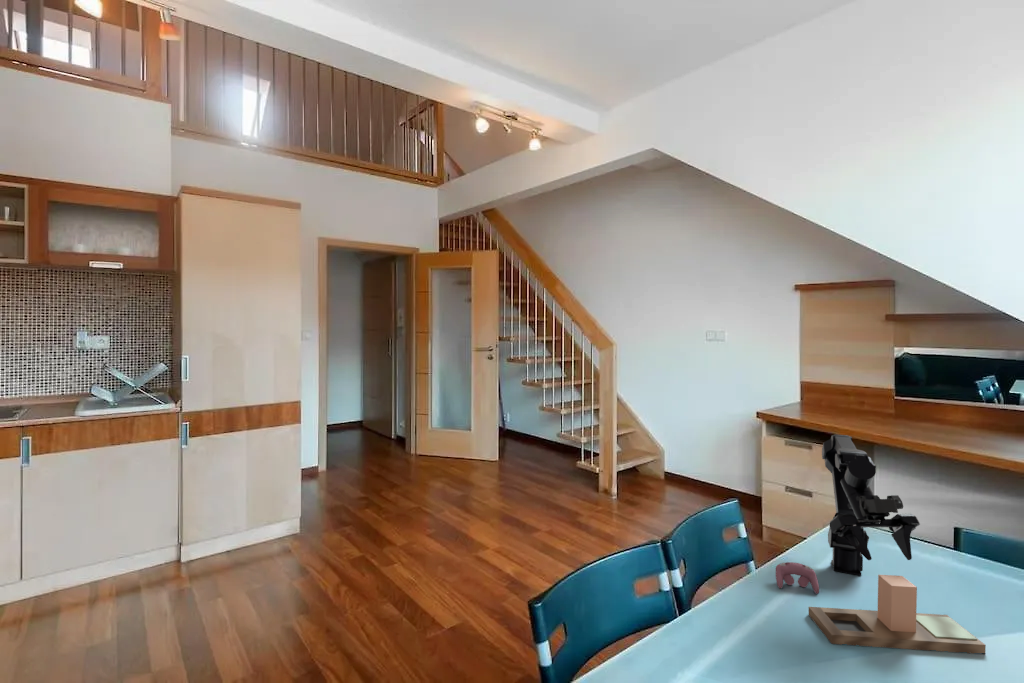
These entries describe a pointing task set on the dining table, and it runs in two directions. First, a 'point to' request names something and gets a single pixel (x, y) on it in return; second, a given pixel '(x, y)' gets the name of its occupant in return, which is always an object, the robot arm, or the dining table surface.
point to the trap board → (872, 632)
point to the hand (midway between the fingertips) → (889, 559)
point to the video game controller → (798, 569)
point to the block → (897, 603)
